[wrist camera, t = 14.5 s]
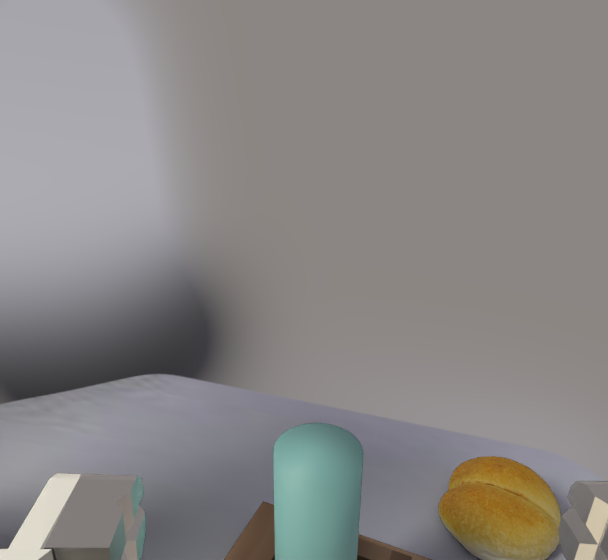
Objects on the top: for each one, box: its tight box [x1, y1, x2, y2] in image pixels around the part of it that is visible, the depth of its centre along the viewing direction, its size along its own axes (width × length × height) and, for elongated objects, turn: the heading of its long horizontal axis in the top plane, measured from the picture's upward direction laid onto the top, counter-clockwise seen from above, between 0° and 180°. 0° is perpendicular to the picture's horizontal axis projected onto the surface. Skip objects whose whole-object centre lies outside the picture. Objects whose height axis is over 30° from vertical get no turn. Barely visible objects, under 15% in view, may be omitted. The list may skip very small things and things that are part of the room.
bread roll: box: [439, 456, 561, 560], centre depth 38 cm, size 8×9×4 cm
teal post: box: [273, 423, 363, 560], centre depth 27 cm, size 4×4×12 cm
